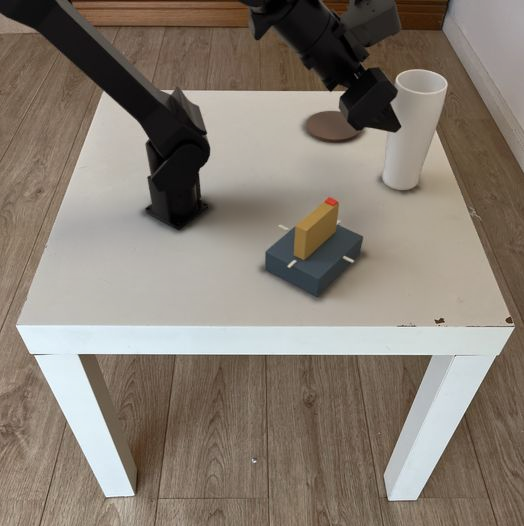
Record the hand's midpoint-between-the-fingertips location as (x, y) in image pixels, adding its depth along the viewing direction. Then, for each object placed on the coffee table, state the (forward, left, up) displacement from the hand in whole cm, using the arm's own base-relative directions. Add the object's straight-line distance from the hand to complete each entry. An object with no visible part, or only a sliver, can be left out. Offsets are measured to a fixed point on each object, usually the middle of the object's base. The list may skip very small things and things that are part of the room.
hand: (385, 111), depth 77 cm
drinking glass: (+3, -3, -12) cm, 12 cm away
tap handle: (-19, -3, -8) cm, 21 cm away
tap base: (-19, -3, -11) cm, 22 cm away
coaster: (+10, +13, -11) cm, 20 cm away
